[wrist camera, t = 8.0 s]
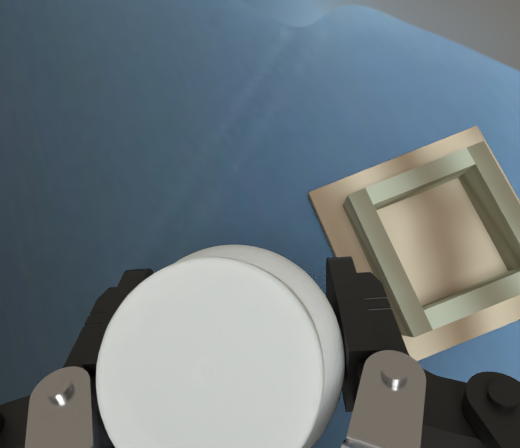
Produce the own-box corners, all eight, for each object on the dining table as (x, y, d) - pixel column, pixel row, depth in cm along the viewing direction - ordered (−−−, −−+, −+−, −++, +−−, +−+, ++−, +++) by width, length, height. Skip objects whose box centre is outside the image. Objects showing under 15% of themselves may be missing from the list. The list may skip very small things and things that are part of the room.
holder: (385, 371, 27) (399, 379, 23) (308, 195, 30) (310, 180, 26) (566, 297, 27) (606, 295, 24) (471, 130, 30) (495, 106, 26)
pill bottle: (202, 262, 17) (97, 196, 8) (329, 282, 17) (387, 238, 7) (176, 397, 16) (15, 516, 7) (311, 422, 16) (352, 593, 6)
